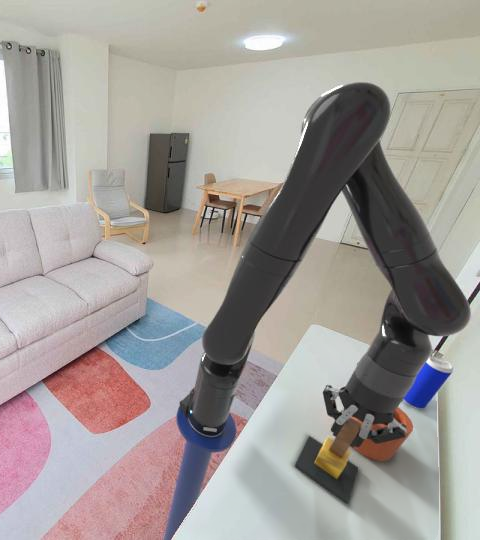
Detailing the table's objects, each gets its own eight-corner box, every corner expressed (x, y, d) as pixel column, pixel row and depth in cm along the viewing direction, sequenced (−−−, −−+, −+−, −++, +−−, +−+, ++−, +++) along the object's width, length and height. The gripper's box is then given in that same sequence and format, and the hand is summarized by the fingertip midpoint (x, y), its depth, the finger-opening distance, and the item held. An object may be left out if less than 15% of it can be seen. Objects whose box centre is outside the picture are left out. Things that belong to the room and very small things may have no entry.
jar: (336, 438, 72) (352, 411, 68) (346, 413, 79) (361, 387, 74) (388, 470, 66) (410, 443, 61) (394, 441, 72) (415, 414, 68)
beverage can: (425, 402, 83) (454, 363, 76) (423, 413, 80) (455, 373, 73) (401, 391, 86) (428, 352, 79) (399, 401, 83) (427, 362, 76)
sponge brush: (314, 463, 65) (337, 422, 59) (319, 450, 68) (343, 409, 62) (336, 479, 63) (364, 438, 56) (341, 464, 65) (368, 423, 59)
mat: (294, 466, 66) (295, 464, 66) (308, 437, 72) (309, 435, 72) (346, 504, 60) (347, 502, 59) (357, 468, 66) (358, 467, 66)
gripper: (331, 368, 55) (301, 427, 63) (431, 417, 47) (382, 478, 54) (340, 349, 60) (312, 406, 68) (433, 391, 51) (388, 451, 59)
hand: (343, 438), depth 61 cm, fingers closed on sponge brush, 2 cm apart
